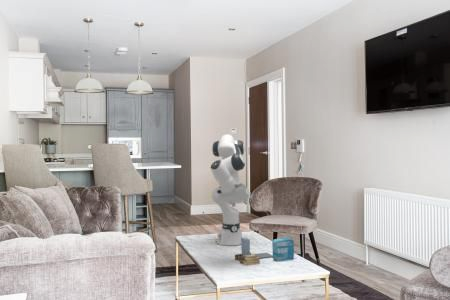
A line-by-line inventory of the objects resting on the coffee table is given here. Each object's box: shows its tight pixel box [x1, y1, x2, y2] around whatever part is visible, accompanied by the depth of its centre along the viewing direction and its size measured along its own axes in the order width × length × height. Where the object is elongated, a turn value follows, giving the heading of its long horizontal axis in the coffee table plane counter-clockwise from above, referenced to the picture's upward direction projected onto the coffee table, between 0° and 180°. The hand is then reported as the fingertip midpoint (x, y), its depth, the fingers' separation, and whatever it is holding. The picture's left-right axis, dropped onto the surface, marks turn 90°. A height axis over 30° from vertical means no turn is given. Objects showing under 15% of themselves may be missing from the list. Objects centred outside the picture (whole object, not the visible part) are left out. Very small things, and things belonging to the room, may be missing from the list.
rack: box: [234, 252, 257, 264], centre depth 266 cm, size 10×10×3 cm
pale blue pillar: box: [240, 237, 251, 257], centre depth 266 cm, size 6×3×13 cm, turn 21°
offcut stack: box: [241, 255, 261, 266], centre depth 259 cm, size 5×9×4 cm, turn 111°
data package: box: [271, 237, 295, 262], centre depth 267 cm, size 12×4×12 cm, turn 113°
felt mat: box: [251, 252, 273, 260], centre depth 276 cm, size 10×11×1 cm
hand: (240, 204), depth 266 cm, fingers open, 8 cm apart
